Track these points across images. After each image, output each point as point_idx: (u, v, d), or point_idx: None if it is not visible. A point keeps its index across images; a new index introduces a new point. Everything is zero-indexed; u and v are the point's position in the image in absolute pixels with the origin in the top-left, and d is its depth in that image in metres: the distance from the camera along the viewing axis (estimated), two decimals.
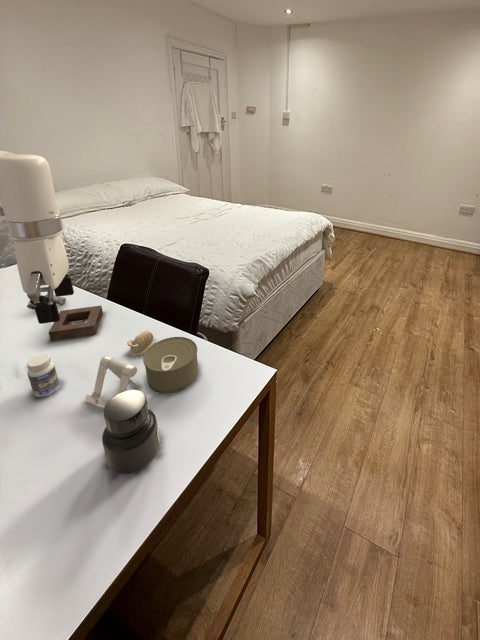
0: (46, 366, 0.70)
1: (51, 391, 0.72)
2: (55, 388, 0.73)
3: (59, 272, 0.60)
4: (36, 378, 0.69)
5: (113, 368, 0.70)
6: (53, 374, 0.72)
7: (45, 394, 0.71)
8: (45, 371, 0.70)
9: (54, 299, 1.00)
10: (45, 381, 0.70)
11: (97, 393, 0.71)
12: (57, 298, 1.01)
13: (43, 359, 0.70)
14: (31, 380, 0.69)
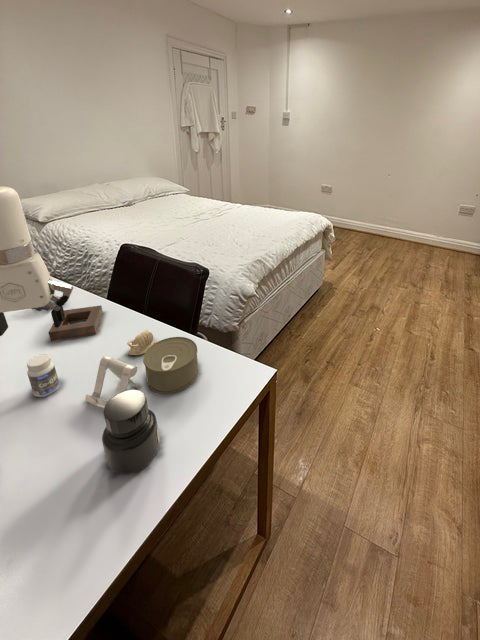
0: (46, 366, 0.70)
1: (51, 391, 0.72)
2: (55, 388, 0.73)
3: None
4: (36, 378, 0.69)
5: (113, 368, 0.70)
6: (53, 374, 0.72)
7: (45, 394, 0.71)
8: (45, 371, 0.70)
9: None
10: (45, 381, 0.70)
11: (97, 393, 0.71)
12: None
13: (43, 359, 0.70)
14: (31, 380, 0.69)
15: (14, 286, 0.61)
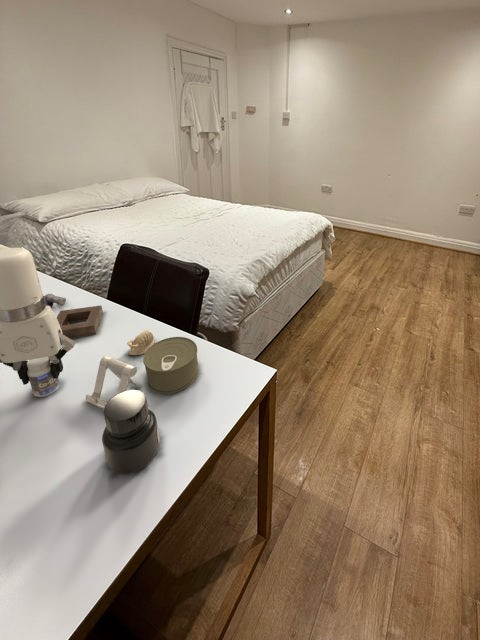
0: (46, 366, 0.70)
1: (51, 391, 0.72)
2: (55, 388, 0.73)
3: None
4: (36, 378, 0.69)
5: (113, 367, 0.70)
6: None
7: (45, 394, 0.71)
8: (45, 371, 0.70)
9: (54, 299, 1.00)
10: (45, 381, 0.70)
11: (97, 393, 0.71)
12: (57, 298, 1.01)
13: (43, 359, 0.70)
14: (31, 380, 0.69)
15: (27, 339, 0.65)
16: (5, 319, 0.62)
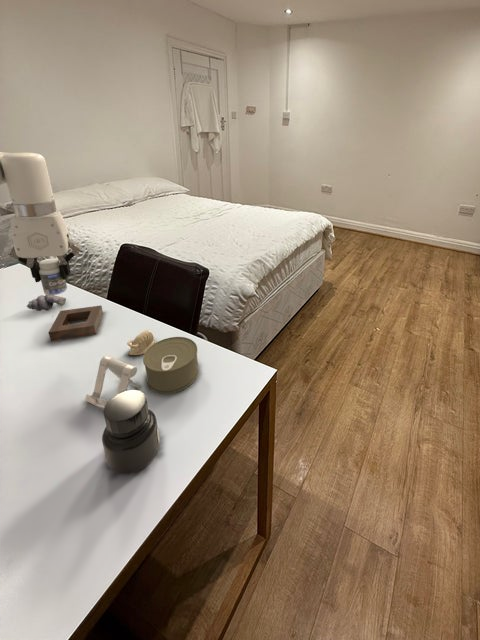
0: (55, 267, 0.78)
1: (60, 291, 0.80)
2: (63, 289, 0.81)
3: None
4: (46, 276, 0.78)
5: (113, 368, 0.70)
6: None
7: (54, 293, 0.80)
8: (54, 271, 0.78)
9: (54, 299, 1.00)
10: (54, 281, 0.79)
11: (97, 393, 0.71)
12: (57, 298, 1.01)
13: (53, 261, 0.79)
14: (42, 278, 0.78)
15: (39, 236, 0.74)
16: (21, 213, 0.70)
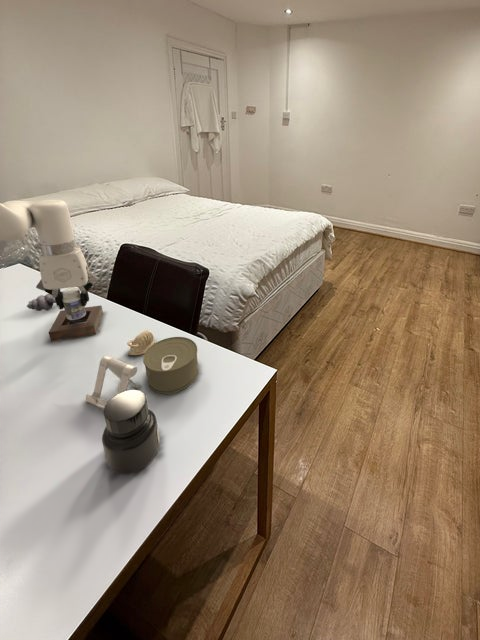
0: (76, 295, 0.90)
1: (80, 316, 0.92)
2: (83, 314, 0.93)
3: None
4: (69, 304, 0.89)
5: (113, 367, 0.70)
6: None
7: (76, 318, 0.91)
8: (76, 299, 0.90)
9: (54, 299, 1.00)
10: (76, 307, 0.90)
11: (97, 393, 0.71)
12: None
13: (74, 290, 0.90)
14: (65, 305, 0.89)
15: (63, 270, 0.85)
16: (48, 253, 0.82)
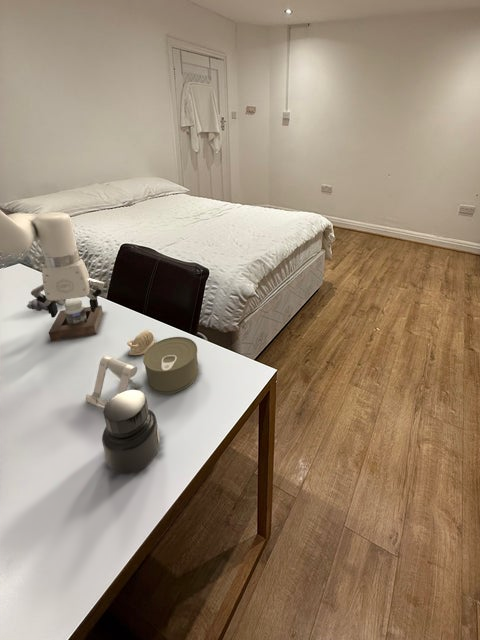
0: (78, 306, 0.91)
1: None
2: None
3: None
4: (71, 315, 0.90)
5: (113, 367, 0.70)
6: (83, 313, 0.93)
7: None
8: (78, 310, 0.91)
9: None
10: (78, 318, 0.92)
11: (97, 393, 0.71)
12: None
13: (76, 301, 0.92)
14: (67, 317, 0.91)
15: (66, 282, 0.86)
16: (51, 265, 0.83)
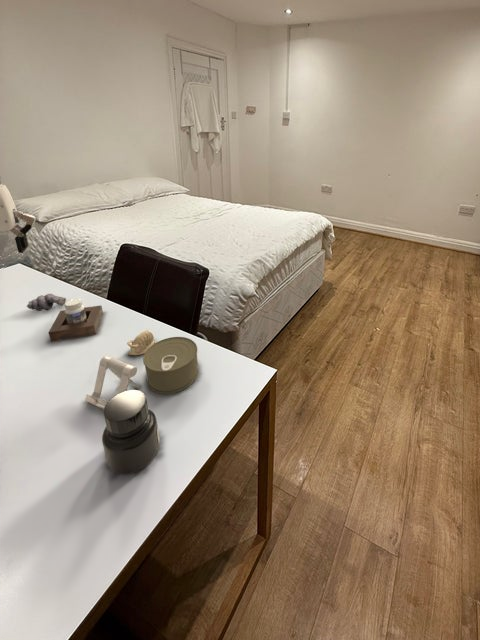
0: (78, 306, 0.91)
1: None
2: None
3: None
4: (71, 315, 0.90)
5: (113, 367, 0.70)
6: (83, 313, 0.93)
7: None
8: (78, 310, 0.91)
9: (54, 299, 1.00)
10: (78, 318, 0.92)
11: (97, 393, 0.71)
12: (57, 298, 1.01)
13: (76, 301, 0.92)
14: (67, 317, 0.91)
15: None
16: None
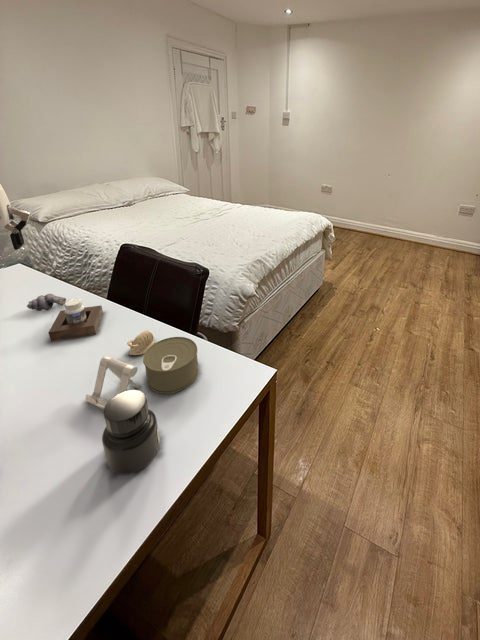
0: (78, 306, 0.91)
1: None
2: None
3: None
4: (71, 315, 0.90)
5: (113, 367, 0.70)
6: (83, 313, 0.93)
7: None
8: (78, 310, 0.91)
9: (54, 299, 1.00)
10: (78, 318, 0.92)
11: (97, 393, 0.71)
12: (57, 298, 1.01)
13: (76, 301, 0.92)
14: (67, 317, 0.91)
15: None
16: None
